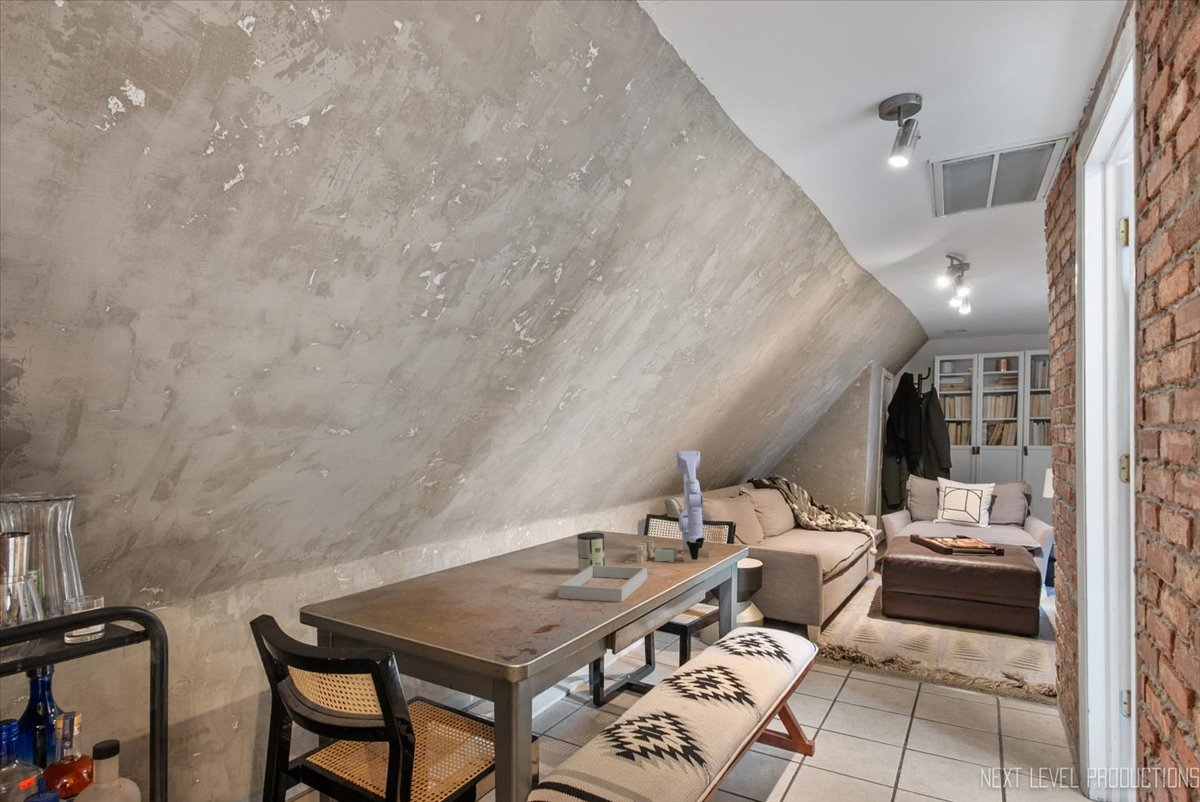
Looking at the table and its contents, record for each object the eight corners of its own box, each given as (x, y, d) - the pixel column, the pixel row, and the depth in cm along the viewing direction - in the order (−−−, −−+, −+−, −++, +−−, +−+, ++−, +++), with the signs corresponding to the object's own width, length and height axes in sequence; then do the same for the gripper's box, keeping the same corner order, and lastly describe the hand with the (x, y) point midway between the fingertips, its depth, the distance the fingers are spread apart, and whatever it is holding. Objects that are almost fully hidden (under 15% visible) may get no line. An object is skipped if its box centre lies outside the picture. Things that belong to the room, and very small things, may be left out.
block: (660, 557, 264) (659, 546, 264) (677, 558, 262) (677, 547, 262) (655, 561, 256) (654, 550, 256) (673, 562, 253) (672, 550, 253)
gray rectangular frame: (591, 576, 232) (591, 565, 232) (647, 579, 225) (647, 567, 225) (558, 597, 201) (558, 585, 202) (621, 601, 195) (621, 588, 195)
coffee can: (587, 568, 246) (586, 531, 247) (610, 570, 241) (609, 533, 242) (572, 573, 238) (571, 535, 238) (595, 576, 232) (594, 537, 233)
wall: (638, 554, 273) (637, 537, 273) (653, 554, 270) (653, 538, 271) (625, 563, 254) (624, 545, 254) (641, 564, 251) (641, 546, 252)
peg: (683, 560, 257) (683, 548, 258) (708, 560, 256) (708, 548, 256) (683, 562, 253) (683, 550, 254) (709, 562, 252) (708, 550, 252)
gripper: (702, 526, 247) (703, 561, 247) (707, 521, 261) (708, 554, 260) (684, 526, 250) (685, 560, 249) (690, 521, 263) (691, 554, 263)
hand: (696, 557), depth 255 cm, fingers open, 7 cm apart
